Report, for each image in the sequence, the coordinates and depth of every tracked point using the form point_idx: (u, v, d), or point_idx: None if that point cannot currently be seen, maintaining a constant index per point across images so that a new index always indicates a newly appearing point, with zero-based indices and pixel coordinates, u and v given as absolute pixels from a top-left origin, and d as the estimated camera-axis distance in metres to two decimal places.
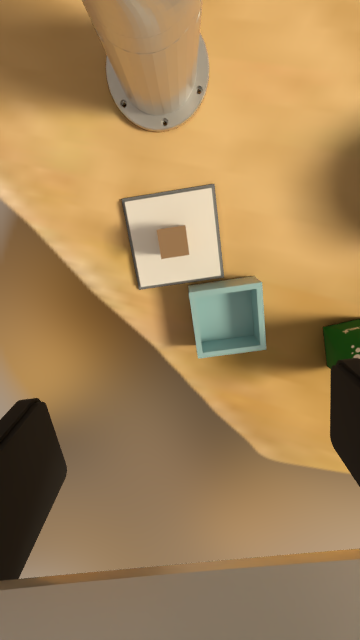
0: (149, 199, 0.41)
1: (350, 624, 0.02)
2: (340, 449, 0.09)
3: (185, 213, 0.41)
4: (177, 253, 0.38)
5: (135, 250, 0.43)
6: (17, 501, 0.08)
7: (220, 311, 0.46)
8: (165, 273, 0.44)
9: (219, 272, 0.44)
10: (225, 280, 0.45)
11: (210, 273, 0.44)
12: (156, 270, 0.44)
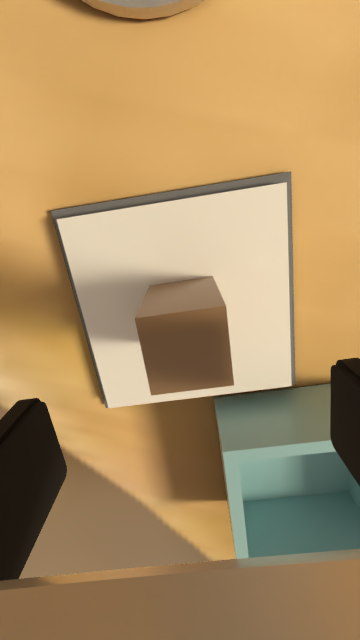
0: (121, 213, 0.16)
1: (350, 624, 0.02)
2: (340, 449, 0.09)
3: (214, 248, 0.16)
4: (199, 382, 0.13)
5: (91, 333, 0.18)
6: (17, 501, 0.08)
7: None
8: None
9: (288, 380, 0.19)
10: (297, 390, 0.20)
11: (266, 381, 0.19)
12: (142, 375, 0.19)
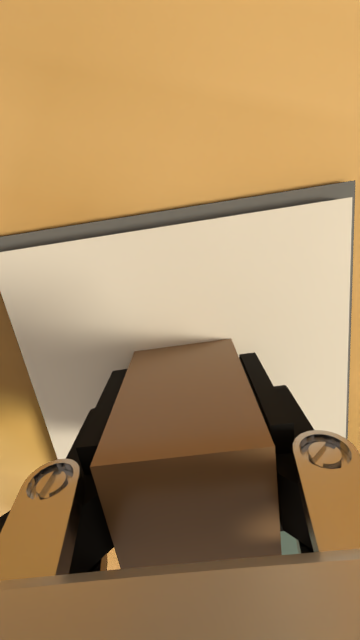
0: (88, 244, 0.10)
1: (350, 624, 0.02)
2: None
3: (234, 298, 0.10)
4: None
5: (49, 419, 0.12)
6: None
7: None
8: None
9: None
10: None
11: None
12: None
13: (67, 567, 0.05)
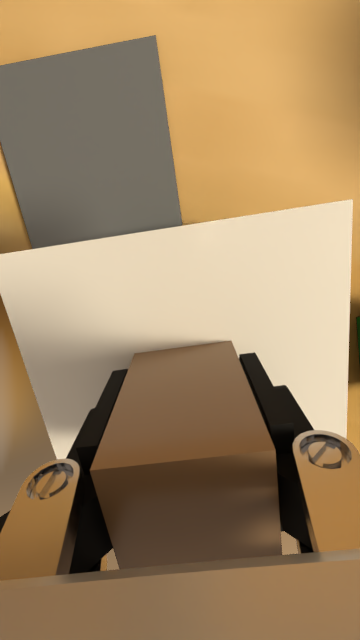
0: (88, 247, 0.10)
1: (350, 624, 0.02)
2: None
3: (234, 300, 0.10)
4: None
5: (49, 420, 0.12)
6: None
7: None
8: None
9: None
10: None
11: None
12: None
13: (67, 567, 0.05)
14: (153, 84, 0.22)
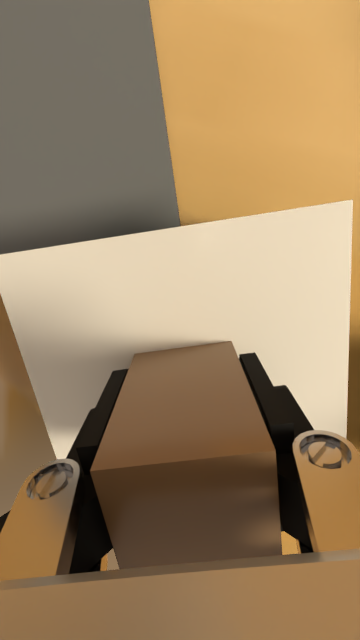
0: (88, 247, 0.10)
1: (350, 624, 0.02)
2: None
3: (234, 300, 0.10)
4: None
5: (49, 421, 0.12)
6: None
7: None
8: None
9: None
10: None
11: None
12: None
13: (67, 567, 0.05)
14: None
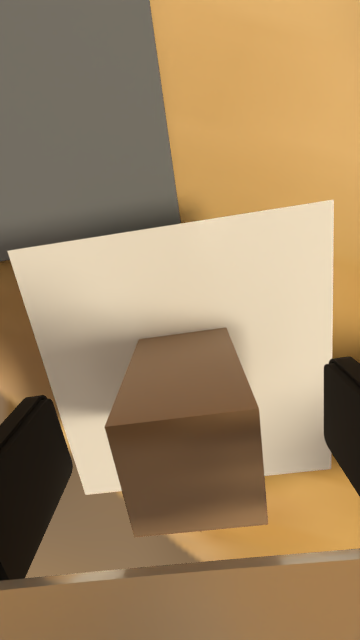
0: (97, 242, 0.11)
1: (350, 624, 0.02)
2: (333, 447, 0.09)
3: (229, 290, 0.12)
4: (211, 519, 0.08)
5: (60, 401, 0.13)
6: (25, 496, 0.08)
7: None
8: None
9: (327, 461, 0.14)
10: None
11: (297, 463, 0.14)
12: None
13: None
14: None
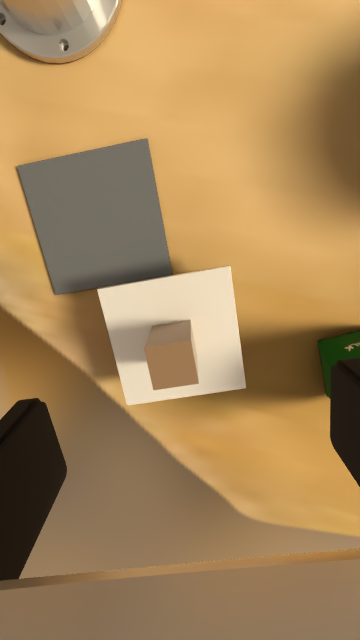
0: (134, 285, 0.27)
1: (351, 622, 0.02)
2: (340, 449, 0.09)
3: (190, 303, 0.27)
4: (179, 382, 0.23)
5: (116, 356, 0.29)
6: (17, 501, 0.08)
7: None
8: None
9: (243, 384, 0.29)
10: None
11: (229, 385, 0.29)
12: (149, 382, 0.29)
13: None
14: (146, 171, 0.29)
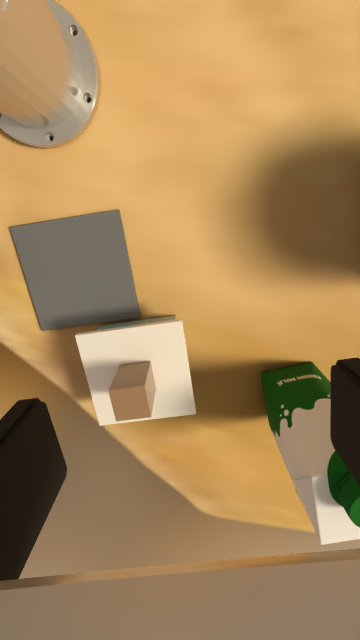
0: (105, 333, 0.33)
1: (350, 624, 0.02)
2: (340, 449, 0.09)
3: (150, 348, 0.33)
4: (136, 415, 0.30)
5: (90, 387, 0.35)
6: (17, 501, 0.08)
7: None
8: None
9: (194, 411, 0.36)
10: (142, 320, 0.38)
11: (182, 411, 0.36)
12: None
13: None
14: (118, 235, 0.35)
